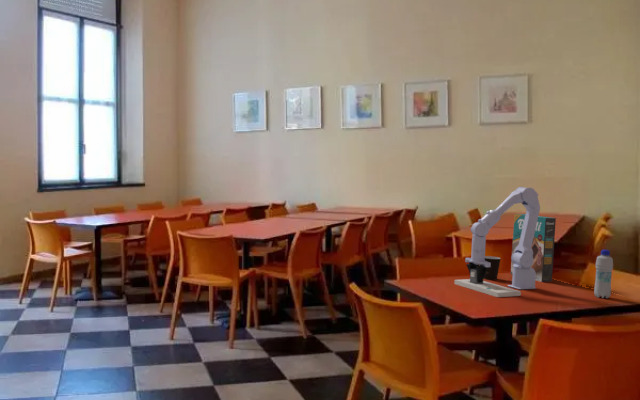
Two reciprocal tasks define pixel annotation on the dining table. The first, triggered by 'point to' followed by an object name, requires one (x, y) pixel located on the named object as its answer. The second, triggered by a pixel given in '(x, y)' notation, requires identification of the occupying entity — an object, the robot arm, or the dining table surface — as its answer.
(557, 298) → the dining table surface
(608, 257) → the bottle
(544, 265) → the cake mix box
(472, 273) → the plug
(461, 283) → the panel
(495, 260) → the coffee mug
